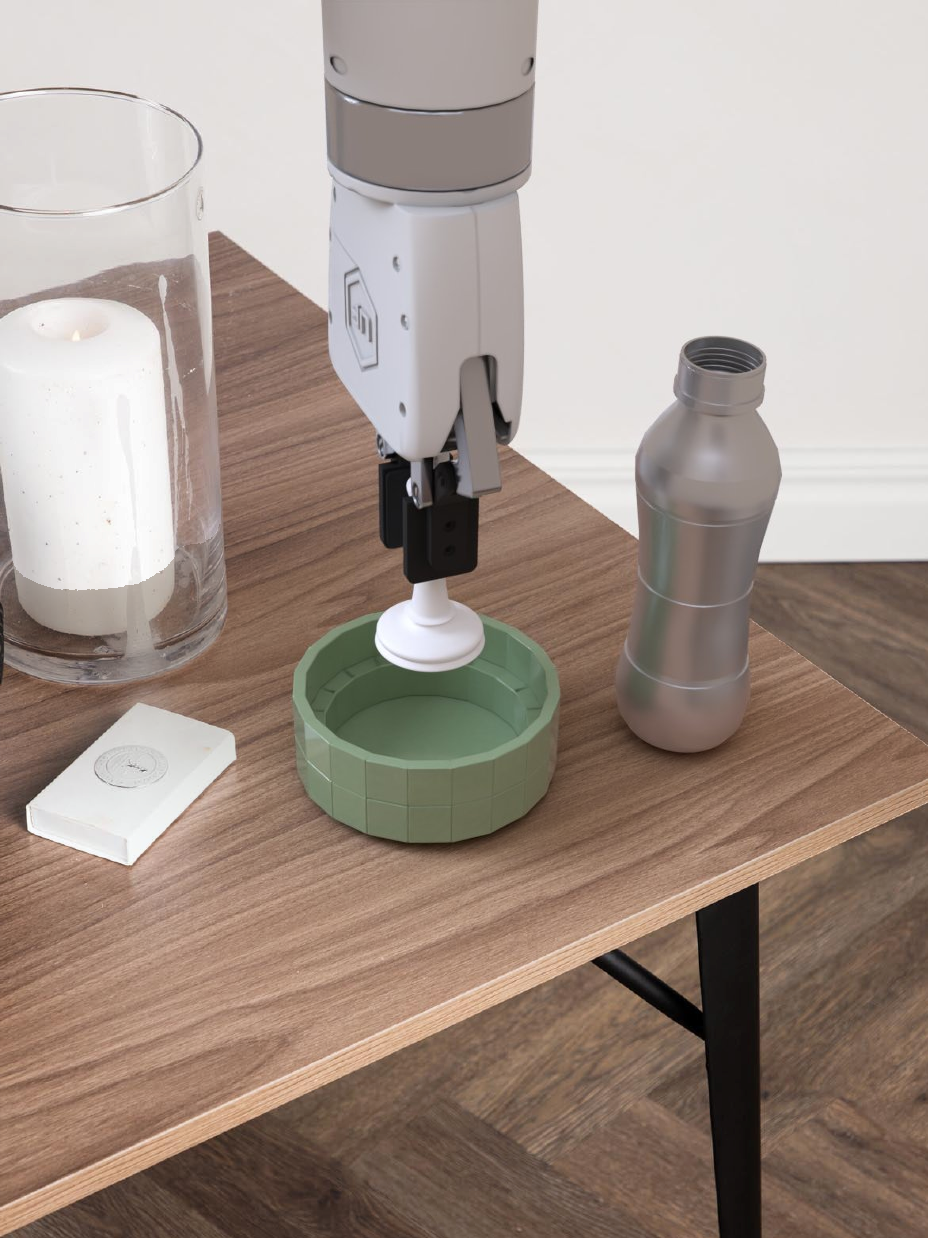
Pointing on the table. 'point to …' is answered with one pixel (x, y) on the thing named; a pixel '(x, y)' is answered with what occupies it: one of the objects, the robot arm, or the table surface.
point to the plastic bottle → (698, 550)
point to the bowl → (425, 735)
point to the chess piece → (430, 626)
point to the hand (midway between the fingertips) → (428, 554)
